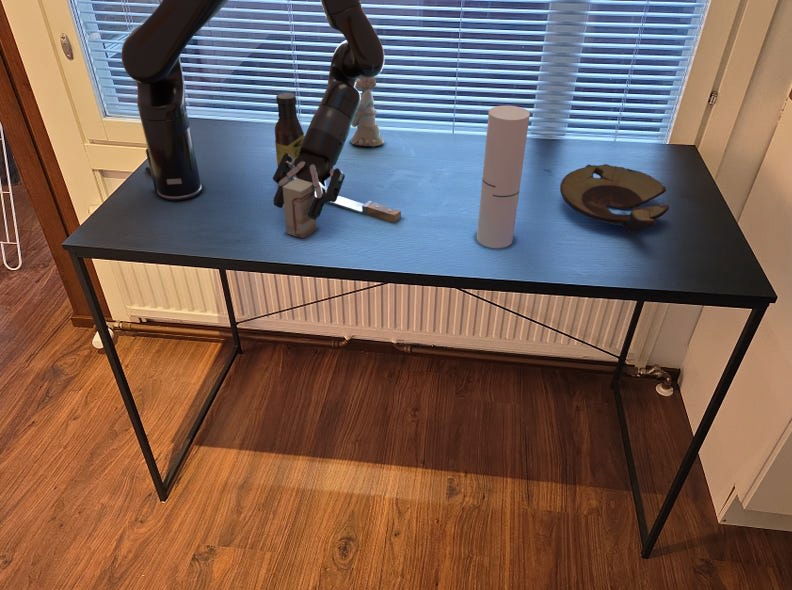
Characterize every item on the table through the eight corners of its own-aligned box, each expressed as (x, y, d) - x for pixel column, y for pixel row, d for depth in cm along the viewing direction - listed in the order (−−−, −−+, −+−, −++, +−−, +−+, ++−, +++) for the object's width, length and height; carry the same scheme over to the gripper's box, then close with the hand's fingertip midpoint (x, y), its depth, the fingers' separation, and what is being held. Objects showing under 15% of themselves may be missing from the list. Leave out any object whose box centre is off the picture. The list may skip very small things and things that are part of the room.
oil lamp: (662, 193, 149) (672, 160, 144) (666, 260, 127) (678, 224, 122) (561, 180, 153) (567, 148, 148) (548, 243, 131) (555, 208, 126)
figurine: (383, 135, 172) (382, 54, 159) (384, 148, 166) (384, 64, 153) (349, 136, 172) (345, 54, 159) (349, 149, 165) (345, 64, 152)
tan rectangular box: (303, 239, 131) (299, 192, 124) (285, 234, 132) (280, 186, 126) (318, 228, 134) (315, 181, 128) (301, 223, 136) (296, 176, 129)
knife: (309, 197, 145) (308, 188, 144) (318, 191, 147) (318, 183, 146) (393, 224, 136) (393, 215, 135) (401, 218, 138) (402, 209, 137)
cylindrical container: (489, 226, 136) (503, 102, 120) (519, 238, 132) (537, 111, 116) (469, 239, 132) (480, 113, 116) (499, 252, 128) (515, 123, 112)
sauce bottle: (302, 194, 146) (294, 102, 133) (275, 191, 147) (265, 100, 134) (311, 181, 151) (304, 92, 138) (285, 179, 152) (276, 89, 139)
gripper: (288, 119, 129) (255, 195, 129) (347, 134, 123) (313, 215, 123) (307, 137, 136) (276, 209, 136) (364, 152, 130) (332, 228, 130)
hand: (294, 212), depth 130 cm, fingers open, 8 cm apart
